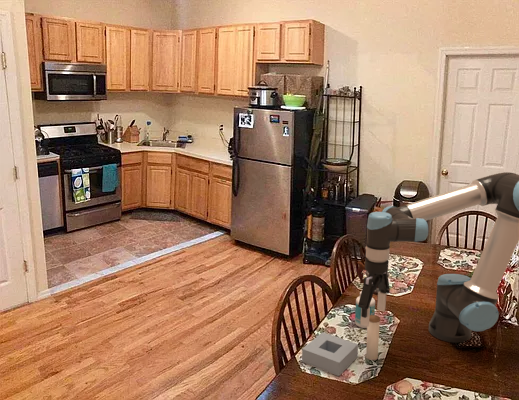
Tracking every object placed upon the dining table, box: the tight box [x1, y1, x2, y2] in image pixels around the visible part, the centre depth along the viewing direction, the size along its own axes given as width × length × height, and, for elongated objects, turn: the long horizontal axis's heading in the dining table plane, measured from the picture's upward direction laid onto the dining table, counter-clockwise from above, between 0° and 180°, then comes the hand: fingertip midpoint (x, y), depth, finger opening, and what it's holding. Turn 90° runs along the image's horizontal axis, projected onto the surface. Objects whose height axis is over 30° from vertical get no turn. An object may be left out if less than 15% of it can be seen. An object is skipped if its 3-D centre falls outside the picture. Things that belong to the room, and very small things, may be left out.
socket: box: [301, 331, 359, 377], centre depth 163 cm, size 14×14×5 cm
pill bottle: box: [354, 290, 376, 329], centre depth 186 cm, size 8×7×14 cm
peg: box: [365, 314, 381, 361], centre depth 163 cm, size 4×4×15 cm
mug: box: [357, 260, 390, 296], centre depth 218 cm, size 12×14×15 cm
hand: (373, 317), depth 161 cm, fingers open, 13 cm apart
